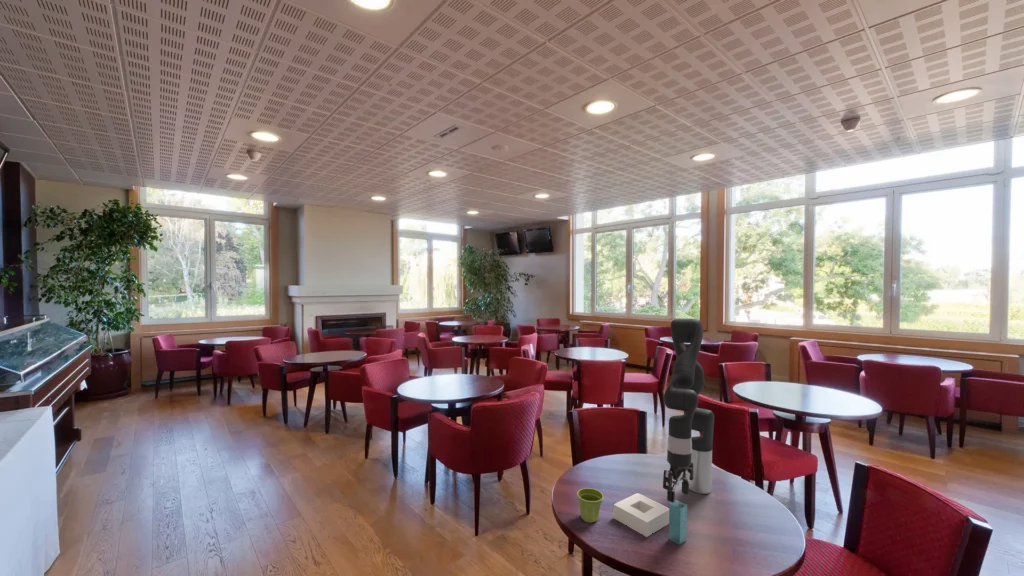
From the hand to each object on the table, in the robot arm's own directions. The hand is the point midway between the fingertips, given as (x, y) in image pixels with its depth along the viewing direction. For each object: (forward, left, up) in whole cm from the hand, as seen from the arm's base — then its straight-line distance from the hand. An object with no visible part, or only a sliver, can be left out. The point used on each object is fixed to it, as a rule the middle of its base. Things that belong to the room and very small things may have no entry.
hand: (678, 497), depth 141 cm
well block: (0, -14, -14) cm, 20 cm away
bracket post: (0, 0, -14) cm, 14 cm away
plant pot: (+14, -26, -15) cm, 33 cm away
